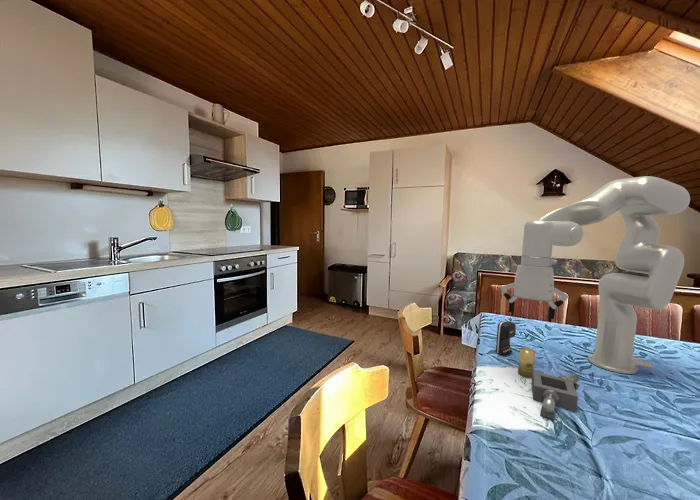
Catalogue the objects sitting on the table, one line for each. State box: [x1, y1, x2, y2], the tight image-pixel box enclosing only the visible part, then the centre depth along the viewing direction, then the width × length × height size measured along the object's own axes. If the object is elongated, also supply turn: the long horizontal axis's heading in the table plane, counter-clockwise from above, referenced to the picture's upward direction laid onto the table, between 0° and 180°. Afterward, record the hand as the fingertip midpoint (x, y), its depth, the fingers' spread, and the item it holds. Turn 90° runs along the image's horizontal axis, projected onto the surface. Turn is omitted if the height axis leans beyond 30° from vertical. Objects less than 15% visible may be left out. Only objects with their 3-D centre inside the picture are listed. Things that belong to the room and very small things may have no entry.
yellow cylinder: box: [517, 346, 536, 379], centre depth 91 cm, size 4×4×8 cm
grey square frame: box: [530, 371, 579, 413], centre depth 79 cm, size 9×9×4 cm
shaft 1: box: [539, 389, 560, 421], centre depth 73 cm, size 7×4×4 cm, turn 141°
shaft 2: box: [558, 372, 580, 390], centre depth 84 cm, size 7×4×4 cm, turn 121°
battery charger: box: [495, 320, 517, 356], centre depth 107 cm, size 7×4×11 cm, turn 125°
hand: (530, 317), depth 90 cm, fingers open, 9 cm apart
